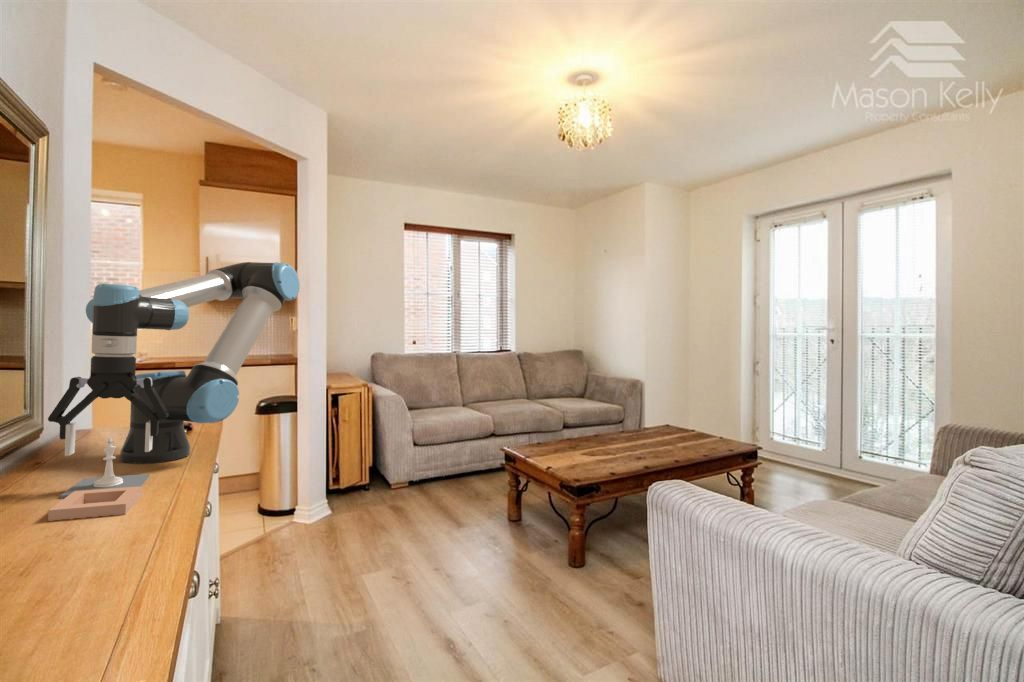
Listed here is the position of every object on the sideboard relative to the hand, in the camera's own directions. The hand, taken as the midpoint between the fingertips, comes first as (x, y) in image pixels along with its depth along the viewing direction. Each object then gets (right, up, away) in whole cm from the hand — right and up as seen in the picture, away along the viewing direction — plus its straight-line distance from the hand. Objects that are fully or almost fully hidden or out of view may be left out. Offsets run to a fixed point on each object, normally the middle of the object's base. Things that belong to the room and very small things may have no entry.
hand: (110, 452), depth 103 cm
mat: (0, -8, 0) cm, 8 cm away
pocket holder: (+8, -8, -12) cm, 16 cm away
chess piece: (0, -7, 0) cm, 7 cm away
